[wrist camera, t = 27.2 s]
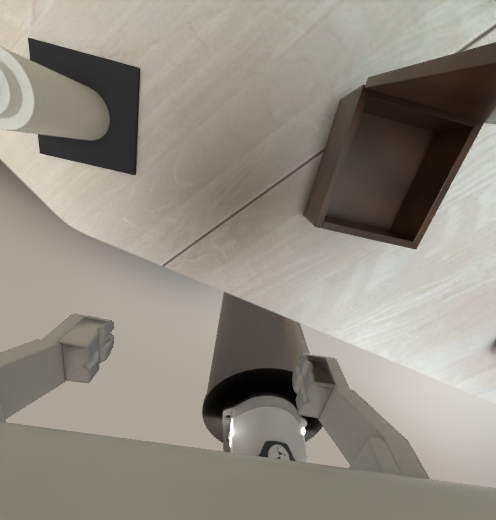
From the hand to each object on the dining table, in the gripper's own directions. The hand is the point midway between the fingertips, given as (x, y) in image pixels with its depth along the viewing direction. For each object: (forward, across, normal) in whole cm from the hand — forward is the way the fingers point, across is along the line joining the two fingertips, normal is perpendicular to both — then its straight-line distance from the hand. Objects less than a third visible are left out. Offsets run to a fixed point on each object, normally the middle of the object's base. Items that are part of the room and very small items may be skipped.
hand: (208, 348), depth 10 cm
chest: (+24, -15, -10) cm, 30 cm away
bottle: (+23, +19, -9) cm, 31 cm away
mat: (+24, +19, -9) cm, 31 cm away
